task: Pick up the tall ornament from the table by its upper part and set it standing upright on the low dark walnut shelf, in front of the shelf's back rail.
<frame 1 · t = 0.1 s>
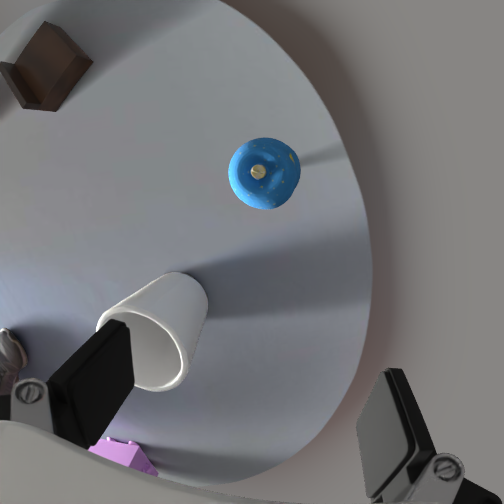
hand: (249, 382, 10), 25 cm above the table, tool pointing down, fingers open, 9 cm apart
athletic shoe: (13, 359, 50), on the table
teapot: (123, 449, 52), on the table
ornament: (273, 169, 33), on the table
shelf: (56, 66, 31), on the table
cup: (181, 297, 38), on the table
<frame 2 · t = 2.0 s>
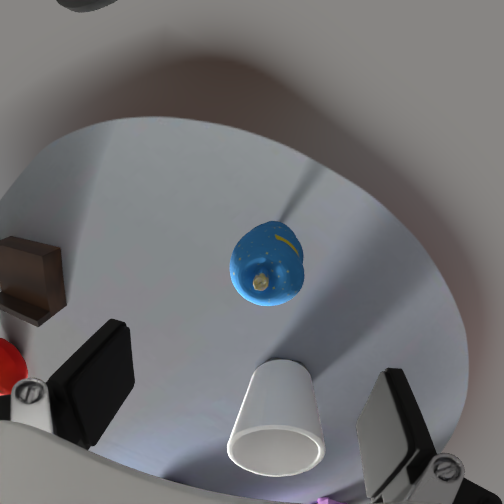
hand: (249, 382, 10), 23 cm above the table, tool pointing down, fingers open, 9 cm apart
tomato: (18, 353, 45), on the table
ornament: (275, 229, 32), on the table
shelf: (36, 269, 38), on the table
cup: (281, 376, 37), on the table
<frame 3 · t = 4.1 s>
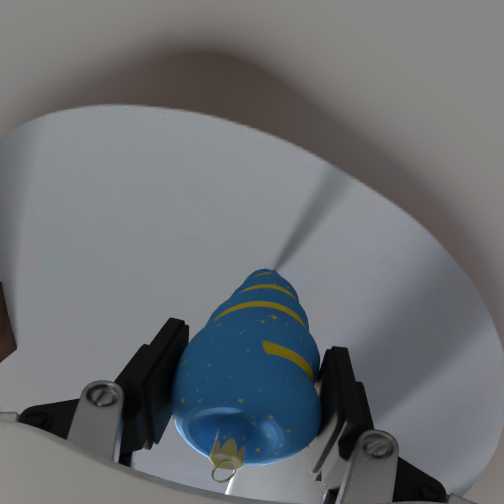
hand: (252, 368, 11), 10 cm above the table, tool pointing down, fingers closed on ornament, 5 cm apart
ornament: (269, 275, 21), on the table, touching gripper
cup: (278, 452, 26), on the table
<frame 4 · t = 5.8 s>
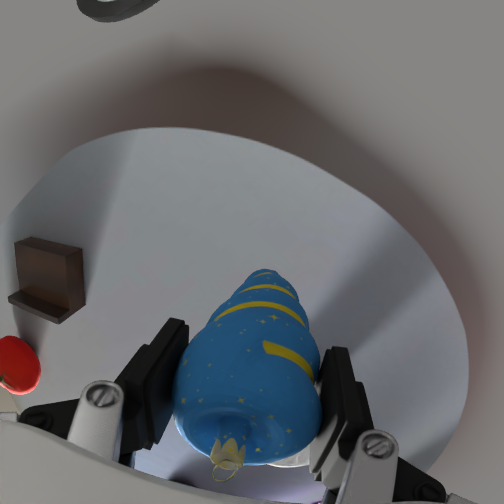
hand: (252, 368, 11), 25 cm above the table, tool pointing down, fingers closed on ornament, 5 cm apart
tomato: (31, 352, 48), on the table
ornament: (270, 275, 21), point 15 cm above the table, touching gripper
shelf: (55, 269, 41), on the table
cup: (292, 374, 40), on the table
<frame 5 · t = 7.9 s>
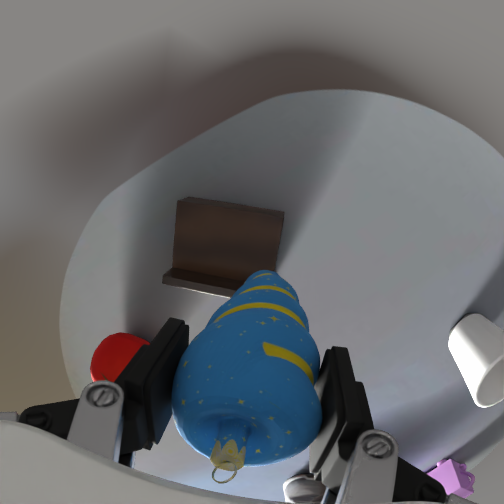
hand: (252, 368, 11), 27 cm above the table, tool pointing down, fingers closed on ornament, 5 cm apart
tomato: (143, 351, 45), on the table
athletic shoe: (303, 491, 53), on the table
teapot: (431, 474, 49), on the table
ornament: (270, 275, 21), point 17 cm above the table, touching gripper
shelf: (230, 239, 38), on the table
cup: (465, 331, 38), on the table
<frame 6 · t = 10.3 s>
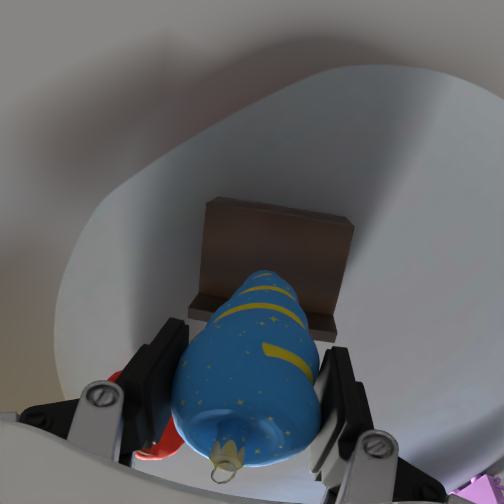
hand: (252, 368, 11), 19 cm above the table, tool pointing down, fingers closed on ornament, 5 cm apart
tomato: (158, 387, 36), on the table
teapot: (463, 489, 39), on the table
ornament: (269, 276, 21), point 9 cm above the table, touching gripper
shelf: (274, 253, 29), on the table
when the fingers open (14 cm above the table, at t = 11.9 s): ornament stays where it is, resting on shelf.
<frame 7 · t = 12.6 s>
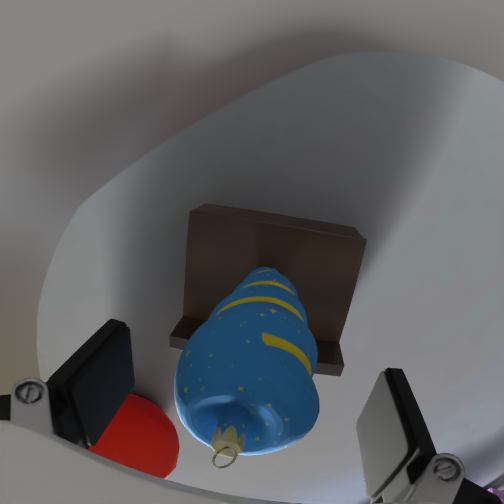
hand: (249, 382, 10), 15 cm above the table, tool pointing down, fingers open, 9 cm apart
tomato: (146, 409, 32), on the table
teapot: (467, 502, 35), on the table
ornament: (270, 273, 21), point 4 cm above the table, touching shelf
shelf: (271, 268, 25), on the table
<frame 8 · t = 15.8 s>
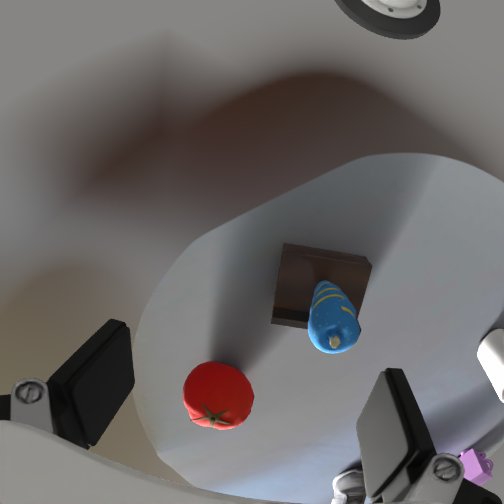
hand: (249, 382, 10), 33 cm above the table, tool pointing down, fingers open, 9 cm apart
tomato: (224, 375, 51), on the table
athletic shoe: (348, 485, 59), on the table
teapot: (455, 463, 54), on the table
ornament: (323, 282, 40), point 4 cm above the table, touching shelf
shelf: (319, 279, 44), on the table
cup: (490, 343, 43), on the table
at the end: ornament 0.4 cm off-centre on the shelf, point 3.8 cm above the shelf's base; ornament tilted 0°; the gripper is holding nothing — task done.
